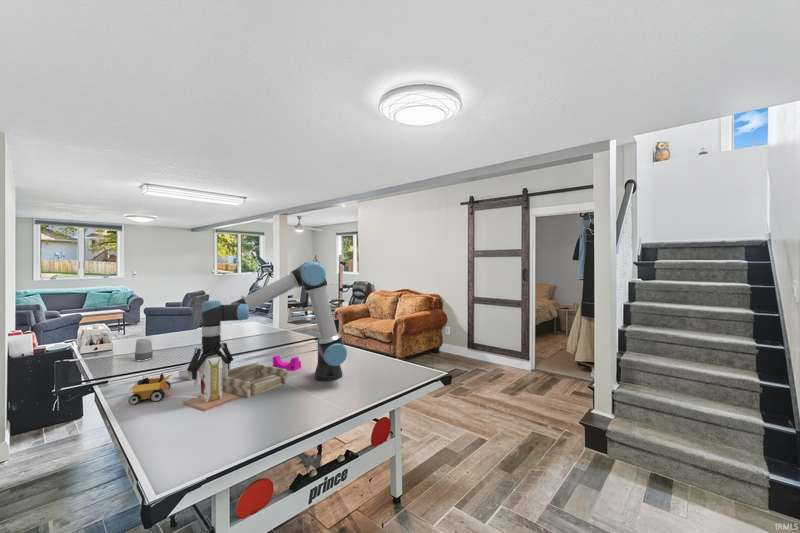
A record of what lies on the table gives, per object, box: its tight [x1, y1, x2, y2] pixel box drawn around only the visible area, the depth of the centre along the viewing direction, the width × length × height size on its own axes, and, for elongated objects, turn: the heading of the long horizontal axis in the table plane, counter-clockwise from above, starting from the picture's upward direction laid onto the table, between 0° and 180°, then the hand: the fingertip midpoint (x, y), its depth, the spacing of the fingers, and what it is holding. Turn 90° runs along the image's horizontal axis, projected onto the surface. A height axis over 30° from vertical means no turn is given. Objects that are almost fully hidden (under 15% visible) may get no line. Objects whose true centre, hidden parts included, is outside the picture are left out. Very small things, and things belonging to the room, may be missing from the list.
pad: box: [182, 391, 240, 412], centre depth 156 cm, size 16×16×1 cm
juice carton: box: [200, 354, 223, 402], centre depth 156 cm, size 8×9×19 cm
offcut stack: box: [250, 375, 283, 396], centre depth 171 cm, size 7×16×5 cm, turn 148°
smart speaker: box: [134, 338, 153, 361], centre depth 224 cm, size 10×9×14 cm
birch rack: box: [222, 361, 288, 399], centre depth 175 cm, size 23×23×8 cm
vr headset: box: [178, 362, 201, 381], centre depth 187 cm, size 14×9×11 cm, turn 150°
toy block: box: [272, 354, 302, 372], centre depth 205 cm, size 15×6×8 cm, turn 75°
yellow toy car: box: [127, 373, 173, 405], centre depth 161 cm, size 15×15×11 cm
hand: (211, 381), depth 156 cm, fingers open, 13 cm apart
